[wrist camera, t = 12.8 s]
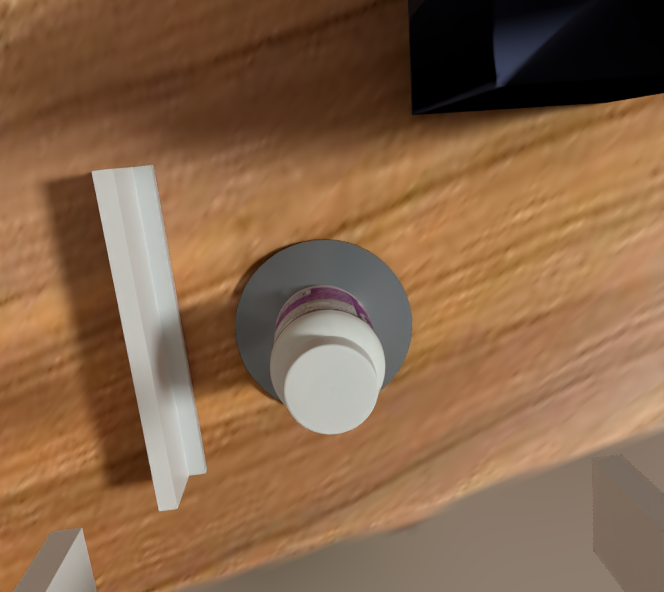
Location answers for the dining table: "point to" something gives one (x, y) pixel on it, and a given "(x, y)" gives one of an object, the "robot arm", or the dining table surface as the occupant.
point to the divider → (151, 327)
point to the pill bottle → (326, 360)
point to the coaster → (311, 270)
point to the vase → (533, 53)
